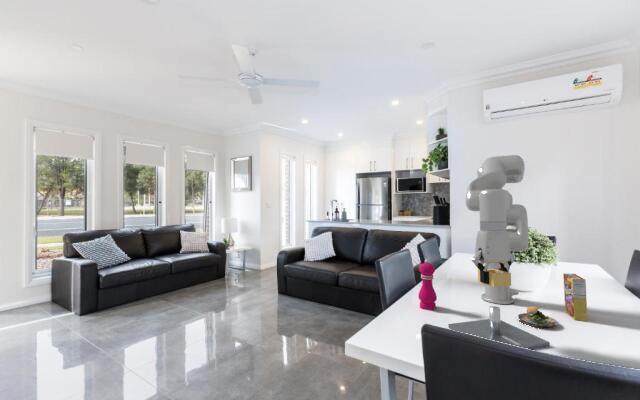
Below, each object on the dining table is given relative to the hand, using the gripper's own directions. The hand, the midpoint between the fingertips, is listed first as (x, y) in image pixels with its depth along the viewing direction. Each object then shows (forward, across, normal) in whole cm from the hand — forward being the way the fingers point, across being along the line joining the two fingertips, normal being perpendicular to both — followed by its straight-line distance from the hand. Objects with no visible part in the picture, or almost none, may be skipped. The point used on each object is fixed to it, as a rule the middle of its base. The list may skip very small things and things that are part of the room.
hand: (494, 281), depth 98 cm
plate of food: (+18, -23, -5) cm, 30 cm away
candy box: (+17, -42, -6) cm, 46 cm away
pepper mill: (+18, +5, -30) cm, 35 cm away
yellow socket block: (+1, 0, 0) cm, 1 cm away
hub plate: (+18, 0, 0) cm, 18 cm away
